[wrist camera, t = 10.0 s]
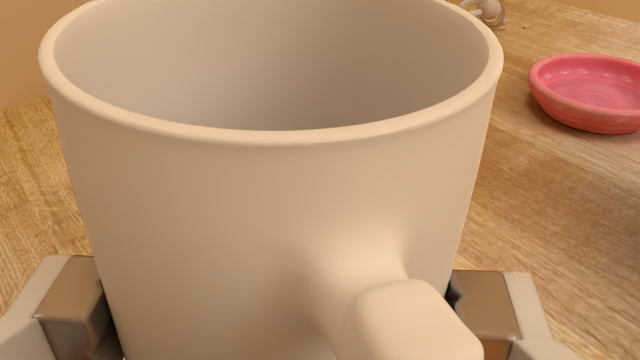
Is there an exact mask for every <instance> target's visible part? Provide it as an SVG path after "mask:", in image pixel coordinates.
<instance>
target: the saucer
mask: <svg viewBox="0 0 640 360" xmlns="http://www.w3.org/2000/svg"><path fill="white" fill-rule="evenodd" d="M528 85H529V88H530V89H531V91H532V93H533V95H534V97H535V98H536V99H537V101H538V102H539V103H540V105H541V107H542V109H543V110H544V111H545V112H546V113H547V114H548V115H550V116H551V117H552V118H554V119H555V120H557V121H559V122H561V123H563V124H565V125H568V126H571V127H573V128H577V129H580V130H584V131H588V132H593V133H601V134H627V133H632V132H636V131H639V130H640V63H637V62H634V61H631V60H627V59H623V58H619V57H614V56H608V55H601V54H592V53H565V54H558V55H553V56H549V57H546V58H543V59H541V60H539V61H537V62H536V63H534V64H533V65H532V66H531V68H530V70H529V73H528Z"/></svg>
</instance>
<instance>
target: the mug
mask: <svg viewBox="0 0 640 360" xmlns="http://www.w3.org/2000/svg"><path fill="white" fill-rule="evenodd" d="M503 62H504V56H503V50H502V47H501V45H500V43H499V41H498V39H497V38H496V36H495V35H494V33H493V32H492V31H491V30H490V29H489V28H488V27H487V26H486V25H485V24H484V23H483V22H481V21H480V20H479V19H477V18H476V17H475V16H473V15H472V14H470V13H468V12H467V11H465V10H463V9H461V8H459V7H457V6H455V5H453V4H451V3H449V2H447V1H444V0H93V1H90V2H88V3H86V4H84V5H82V6H81V7H78V8H76V9H75V10H73V11H71V12H70V13H68V14H67V15H65V16H64V17H62V18H61V19H60V20H58V21H57V22H56V23H55V24H54V25H53V26H52V27H51V28H50V29H49V30H48V32H47V33H46V35H45V36H44V38H43V40H42V41H41V44H40V46H39V50H38V63H39V68H40V71H41V73H42V75H43V77H44V80H45V83H46V86H47V90H48V93H49V98H50V102H51V106H52V110H53V114H54V118H55V122H56V126H57V130H58V134H59V138H60V142H61V146H62V150H63V154H64V157H65V161H66V165H67V169H68V172H69V176H70V179H71V183H72V186H73V190H74V193H75V197H76V200H77V204H78V207H79V210H80V214H81V217H82V220H83V224H84V227H85V230H86V233H87V237H88V240H89V243H90V246H91V250H92V253H93V256H94V259H95V263H96V266H97V269H98V272H99V275H100V279H101V282H102V285H103V288H104V292H105V295H106V298H107V301H108V305H109V308H110V311H111V314H112V318H113V321H114V324H115V327H116V331H117V334H118V337H119V340H120V344H121V347H122V350H123V353H124V357H125V360H484V349H483V346H482V344H481V342H480V341H479V339H478V338H477V337H476V336H475V335H474V334H473V333H472V332H471V331H470V330H469V329H468V328H467V327H466V326H465V325H464V323H463V322H462V321H461V320H460V318H459V317H458V316H457V315H456V313H455V312H454V311H453V309H452V308H451V307H450V306H449V304H448V303H447V302H446V300H445V296H446V292H447V288H448V284H449V280H450V277H451V273H452V269H453V266H454V262H455V258H456V254H457V250H458V246H459V243H460V239H461V235H462V231H463V227H464V224H465V220H466V216H467V212H468V208H469V204H470V200H471V196H472V193H473V189H474V185H475V181H476V176H477V172H478V168H479V164H480V160H481V155H482V151H483V147H484V142H485V137H486V133H487V128H488V123H489V118H490V113H491V108H492V103H493V99H494V94H495V90H496V85H497V81H498V79H499V77H500V75H501V72H502V69H503Z"/></svg>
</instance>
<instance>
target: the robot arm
mask: <svg viewBox="0 0 640 360" xmlns="http://www.w3.org/2000/svg"><path fill="white" fill-rule="evenodd" d="M445 300H446V302H447V303H448V304H449V306H450V307H451V308H452V309H453V311H454V312H455V313H456V315H457V316H458V317H459V318H460V320H461V321H462V322H463V323H464V325H465V326H466V327H467V328H468V329H469V330H470V331H471V332H472V333H473V334H474V335H475V336H476V337H477V338H478V339H479V341H480V342H481V344H482V346H483V349H484V360H584V359H583V358H582V357H581V356H579V355H578V354H577V353H576V352H575V351H574V350H572V349H571V348H570V347H569V346H568V345H567V344H565V343H564V342H556V341H555V340H554V337H553V334H552V331H551V328H550V326H549V323H548V320H547V317H546V314H545V311H544V309H543V306H542V303H541V300H540V297H539V295H538V292H537V289H536V286H535V283H534V281H533V278H532V275H531V274H530V273H529V272H528V271H500V272H499V271H482V270H452V273H451V277H450V280H449V284H448V288H447V292H446V296H445ZM123 358H124V353H123V350H122V347H121V344H120V340H119V337H118V334H117V331H116V327H115V324H114V321H113V318H112V314H111V311H110V308H109V305H108V301H107V298H106V295H105V292H104V288H103V285H102V282H101V279H100V275H99V272H98V269H97V266H96V263H95V259H94V256H84V255H59V254H49V255H48V256H46V257H44V258H43V259H42V260H41V261H40V263H39V264H38V266H37V267H36V269H35V270H34V271H33V273H32V274H31V276H30V277H29V279H28V280H27V281H26V283H25V284H24V286H23V287H22V289H21V290H20V291H19V293H18V294H17V296H16V297H15V299H14V300H13V301H12V303H11V304H10V306H9V307H8V309H7V310H6V311H5V313H4V314H3V316H2V317H0V360H123Z"/></svg>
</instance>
